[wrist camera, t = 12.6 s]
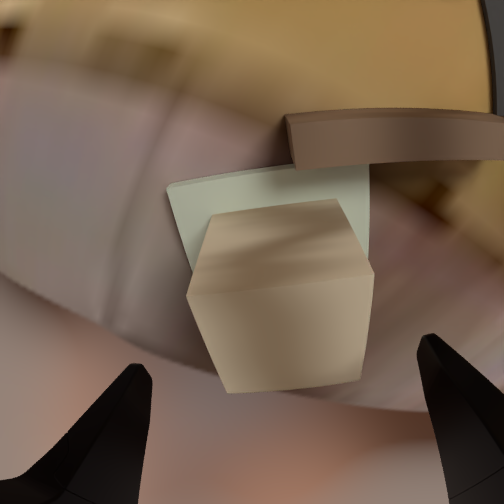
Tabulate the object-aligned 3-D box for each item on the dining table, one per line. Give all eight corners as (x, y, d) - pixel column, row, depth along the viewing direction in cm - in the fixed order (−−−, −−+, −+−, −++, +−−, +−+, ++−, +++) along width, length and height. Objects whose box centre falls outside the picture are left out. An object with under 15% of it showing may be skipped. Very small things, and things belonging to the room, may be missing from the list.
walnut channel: (461, -63, 4) (489, -74, 2) (492, 144, 10) (525, 161, 8) (242, -88, 6) (237, -117, 3) (289, 151, 11) (296, 170, 9)
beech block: (336, 198, 12) (374, 274, 7) (338, 294, 14) (360, 380, 10) (212, 214, 12) (186, 296, 8) (236, 306, 15) (227, 393, 11)
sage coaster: (364, 156, 11) (368, 161, 11) (360, 305, 15) (363, 313, 15) (170, 183, 12) (166, 188, 12) (214, 322, 16) (212, 330, 16)
